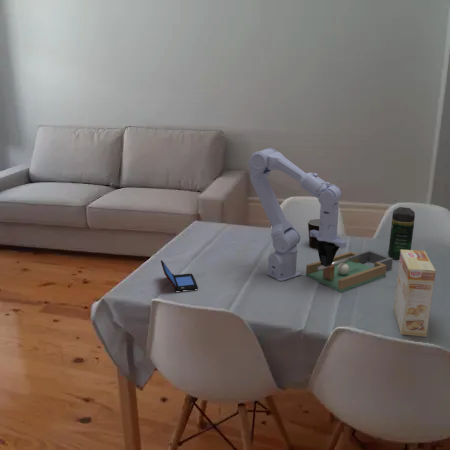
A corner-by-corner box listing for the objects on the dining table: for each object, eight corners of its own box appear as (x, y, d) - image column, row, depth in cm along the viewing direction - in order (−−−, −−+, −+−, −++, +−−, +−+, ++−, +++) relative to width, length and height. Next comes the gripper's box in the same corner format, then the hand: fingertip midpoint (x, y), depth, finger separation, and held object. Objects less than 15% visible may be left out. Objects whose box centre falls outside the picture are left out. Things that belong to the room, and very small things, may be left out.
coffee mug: (322, 251, 200) (323, 227, 196) (302, 246, 204) (303, 223, 201) (335, 243, 208) (337, 219, 205) (316, 238, 213) (317, 215, 210)
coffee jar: (409, 262, 189) (415, 213, 183) (387, 259, 192) (392, 211, 186) (410, 253, 198) (416, 206, 192) (389, 250, 200) (393, 204, 194)
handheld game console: (198, 291, 167) (198, 270, 165) (165, 294, 165) (164, 273, 163) (192, 275, 179) (191, 256, 177) (161, 279, 177) (160, 258, 174)
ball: (343, 277, 174) (343, 266, 173) (334, 273, 177) (335, 262, 176) (351, 274, 176) (352, 263, 175) (342, 270, 179) (343, 260, 178)
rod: (320, 282, 169) (322, 258, 166) (314, 279, 171) (315, 255, 169) (362, 269, 180) (364, 246, 177) (355, 266, 182) (357, 243, 179)
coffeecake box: (427, 337, 139) (436, 270, 133) (400, 335, 140) (407, 269, 134) (417, 311, 153) (425, 250, 147) (393, 309, 154) (399, 248, 148)
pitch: (340, 292, 166) (341, 280, 164) (306, 275, 178) (306, 264, 177) (398, 271, 181) (399, 260, 180) (362, 257, 194) (363, 247, 192)
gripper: (303, 219, 169) (301, 258, 174) (336, 231, 158) (333, 272, 162) (319, 216, 173) (317, 253, 177) (352, 227, 162) (349, 267, 166)
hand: (326, 262), depth 170 cm, fingers closed on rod, 2 cm apart
